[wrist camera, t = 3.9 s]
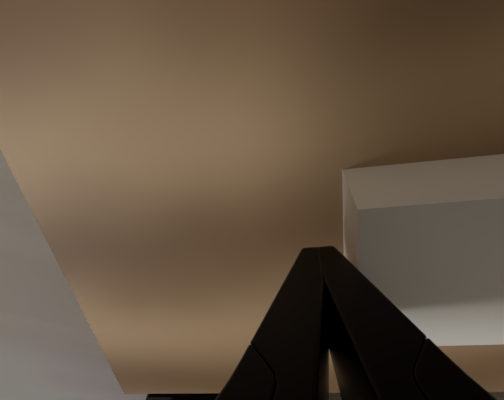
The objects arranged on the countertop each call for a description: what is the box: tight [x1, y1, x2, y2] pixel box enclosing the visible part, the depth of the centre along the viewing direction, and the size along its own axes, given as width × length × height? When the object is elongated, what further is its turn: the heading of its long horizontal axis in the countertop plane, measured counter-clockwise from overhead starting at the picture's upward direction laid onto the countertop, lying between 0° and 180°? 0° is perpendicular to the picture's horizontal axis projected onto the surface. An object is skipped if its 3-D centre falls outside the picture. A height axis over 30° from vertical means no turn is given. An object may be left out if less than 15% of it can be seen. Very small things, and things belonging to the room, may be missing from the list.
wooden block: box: [0, 0, 504, 394], centre depth 11 cm, size 14×16×4 cm
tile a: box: [342, 154, 504, 346], centre depth 8 cm, size 4×4×2 cm
